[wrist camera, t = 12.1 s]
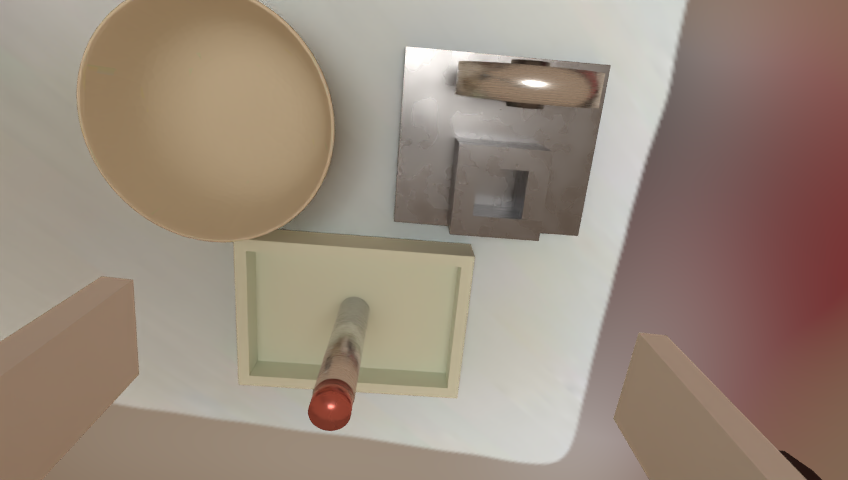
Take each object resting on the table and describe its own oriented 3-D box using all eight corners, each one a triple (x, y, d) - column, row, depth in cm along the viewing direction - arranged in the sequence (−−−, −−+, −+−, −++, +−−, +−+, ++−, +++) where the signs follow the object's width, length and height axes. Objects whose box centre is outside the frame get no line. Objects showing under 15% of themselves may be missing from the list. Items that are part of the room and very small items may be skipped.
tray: (250, 364, 48) (238, 384, 45) (246, 227, 44) (233, 238, 41) (454, 377, 49) (457, 398, 46) (470, 244, 45) (474, 256, 41)
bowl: (390, 138, 42) (383, 157, 32) (243, 240, 44) (197, 284, 35) (268, -40, 37) (219, -80, 28) (114, 83, 40) (19, 86, 30)
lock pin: (338, 323, 46) (306, 430, 32) (339, 295, 45) (307, 393, 31) (368, 325, 46) (350, 432, 32) (370, 297, 45) (352, 395, 31)
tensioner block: (394, 216, 44) (385, 278, 30) (406, 47, 39) (401, 32, 26) (572, 230, 44) (640, 296, 31) (603, 65, 40) (697, 60, 27)
